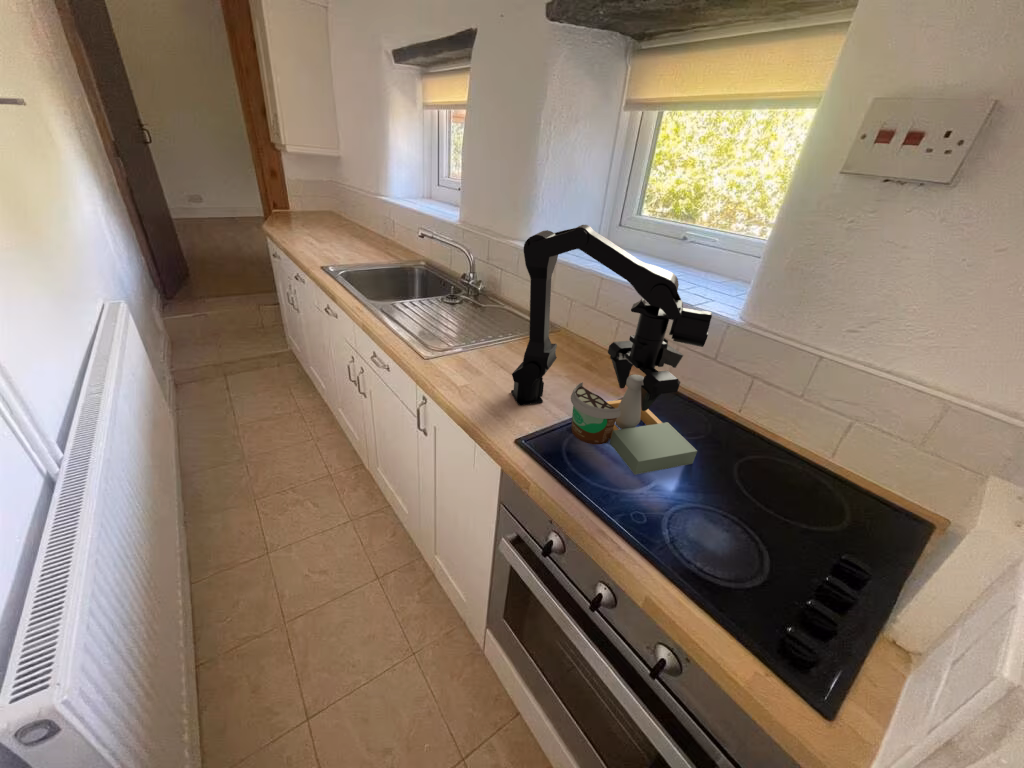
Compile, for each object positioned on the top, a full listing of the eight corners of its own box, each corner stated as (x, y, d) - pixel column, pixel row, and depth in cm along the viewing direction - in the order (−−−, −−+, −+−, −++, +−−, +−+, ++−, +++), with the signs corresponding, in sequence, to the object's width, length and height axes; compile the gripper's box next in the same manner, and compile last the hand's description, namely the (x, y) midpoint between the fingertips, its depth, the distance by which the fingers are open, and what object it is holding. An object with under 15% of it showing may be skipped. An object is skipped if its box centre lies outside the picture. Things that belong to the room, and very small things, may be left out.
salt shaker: (620, 415, 99) (632, 368, 92) (642, 425, 96) (655, 377, 89) (608, 425, 95) (619, 377, 88) (630, 436, 92) (644, 387, 85)
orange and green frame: (634, 474, 81) (638, 461, 79) (586, 414, 98) (589, 402, 96) (692, 463, 85) (697, 450, 83) (636, 407, 102) (640, 395, 100)
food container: (554, 424, 93) (560, 388, 88) (574, 417, 97) (580, 381, 91) (592, 456, 85) (601, 417, 80) (612, 446, 88) (622, 408, 83)
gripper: (713, 352, 78) (689, 418, 86) (656, 315, 93) (640, 374, 101) (664, 357, 75) (644, 425, 83) (613, 318, 90) (600, 379, 98)
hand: (632, 398), depth 91 cm, fingers open, 9 cm apart
